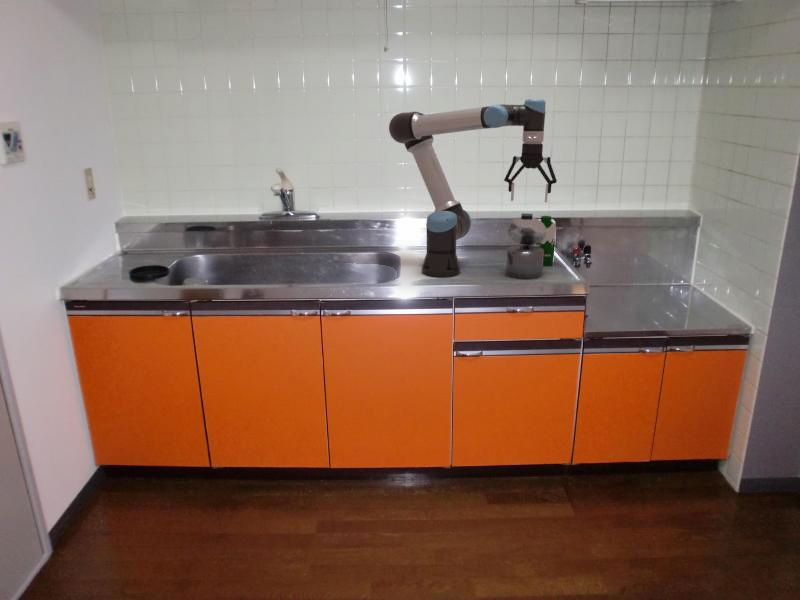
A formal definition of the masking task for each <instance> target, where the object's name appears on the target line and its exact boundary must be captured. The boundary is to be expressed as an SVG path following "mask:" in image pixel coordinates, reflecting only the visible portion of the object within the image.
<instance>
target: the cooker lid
mask: <svg viewBox="0 0 800 600" xmlns="http://www.w3.org/2000/svg"><path fill="white" fill-rule="evenodd" d="M533 216H534V215H533V213H521V217H518V218H515V219H513V220H512V221H511V222H510V223H509V225H508V227H507V235H508V236H509V238H510V239H511V240H512V241H513V242H515V243H517V244H519V245H529V246H533V245H534V244H537V243H540V242H541V241H542V240H543V239H544V238H545V236H546V227H545V225H544V224H543V223H542V222H541V221H540V220H538V219H539V218H535V217H533Z"/></svg>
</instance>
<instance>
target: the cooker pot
mask: <svg viewBox="0 0 800 600" xmlns="http://www.w3.org/2000/svg"><path fill="white" fill-rule="evenodd" d="M543 256H544V249H542V248H540V247H536V246H533V245H522V244H519V245H510V246H508V247H507V249H506V257H505V258H506V263H505V275H506V276H507V277H509V278H514V279H519V280H535V279H539V278H542V277H543V269H544V268H543V267H544V265H543Z"/></svg>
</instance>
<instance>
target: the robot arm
mask: <svg viewBox="0 0 800 600" xmlns="http://www.w3.org/2000/svg"><path fill="white" fill-rule="evenodd" d="M546 113H547V112H546V101H545V100H544V99H541V98H540V99H538V98H536V99H535V98H534V99H526V98H525V100H524V104H503V103H502V104H492V105H490V106H481V107H473V108H466V109H459V110H451V111H443V112H436V113H429V114H424V113H423V112H418V111H409V112H400V113H397V114H396V115H394V116H393V117H392V118H391V120H390V121H389V124H388V130H389V131H388V132H389V135H390V136H391V138H392V139H393V141H394V142H396V143H399V144H403V145H404V147H405V149H406V151H407V152H409V153H411V154H412V156H413V158H414V160H415V164H416V165H417V168H418V170H419V172H420V175H421V177H422V180H423V182H424V185H425V186H426V187H425V188H426V189H427V191H428V194H429V196H430V198H431V201H432V203H433V206H434V208H435V209H434V211H433V212H431V213H430V214H429V215H427V217H426V223H425V225H426V254H425V257H424V260H423V262H422V266H421V267H422V268H421V273H422V274H423V275H425V276H429V277H435V278H449V277H450V278H451V277H455V276H457V275H459V274H461V265H460V262H459V259H458V255H457V241H458V240H460V239H462V238H464V237H465V236H466V235H467V234H468V233H469V232H470V230H471V227H472V218H471V216H470V214H469V213H468V212H467V211H466V210H465V209H464V208H463V206H462V203H461V202H460V201H458V200H456V199H455V197H454V195H453V192H452V189H451V188H450V185H449V183H448V180H447V177H446V175H445V173H444V171H443V169H442V166H441V164H440V161H439V159H438V157H437V154H436V152H435V149H434V146H433V143H434V136H436V135H443V134H452V133H458V132H459V133H460V132H467V131H469V132H470V131H476V130H477V131H478V130H483V129H484V130H485V129H486V130H487V129H496V128H501V127H516V126H517V127H522V128H523V129H522V142H523V143H522V145H521V156H517V155H514V156H512V162H511V165H510V166H509V169H508V171H507V172H506V175H505V177H504V179H503V180H504V182H505V183H508V190H507V191H508V192H510V201H511V202H514V198H515V197H514V196H515V182H514V181H515V179H516V178H517V177H518V176H519V174H520V173H521V172H522V171H523V170H524V169H532V170H536V169H537V170H538V171H539V172H540V174H541V175H542V177H543V178H544V180H545V182H546V183H545V192H544V193H545V195H544V203H547V202H548V197H549V196H548V195H549V194H551V193H552V185H553V184H556V183H557V182H558V180H557V178H556V174H555V171H554V168H553V167H552V163H551V156H546V157H545V156H543V149H544V148H543V147H544V145H543V142H544V136H545V135H544V134H545V119H546ZM433 135H434V136H433ZM519 161H520V162H521V166H520V167H519V168H518V169H517V170H516V172H515V173H514V174H513V175H512V173H513V170H514V168H515V166H516V165H517V163H518V162H519ZM543 161H544V163H545V164H546V166H547V168H548V171H549V174H550V177H551V179H550V177H549V176H548V174H547V173H546V171H545V170H544V168H543V166H542V165H541V164H542V163H543ZM511 175H512V176H511ZM510 176H511V178H510Z"/></svg>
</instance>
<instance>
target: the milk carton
mask: <svg viewBox="0 0 800 600" xmlns="http://www.w3.org/2000/svg"><path fill="white" fill-rule="evenodd" d="M537 219H538V220H540V221H541V222H542V223H543V224H544V225H545V227H546V236H545V238H544V239H543V240H542V241H541V242H540V243H537V244H534V245H532V246H536V247H540V248H542V249H544V256H543V266H553V261H554V256H555V248H556V247H555V244H556V229H557V228H556V227H557V222H556V221H555V219H553V218H552V216H550V215H541V217H540V218H537Z"/></svg>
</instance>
